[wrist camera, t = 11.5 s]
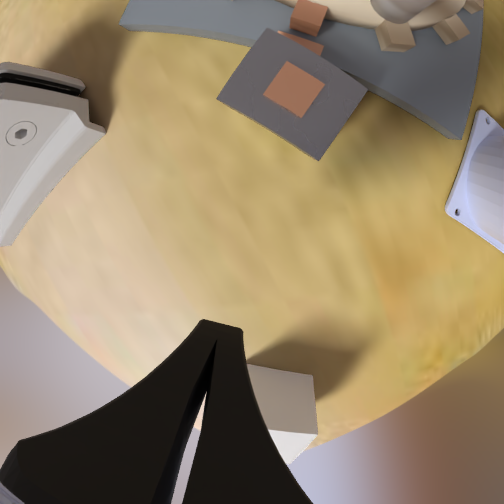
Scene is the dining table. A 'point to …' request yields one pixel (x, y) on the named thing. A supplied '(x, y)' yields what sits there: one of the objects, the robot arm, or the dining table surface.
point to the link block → (292, 93)
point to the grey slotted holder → (38, 139)
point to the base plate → (341, 51)
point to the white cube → (286, 408)
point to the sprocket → (386, 18)
